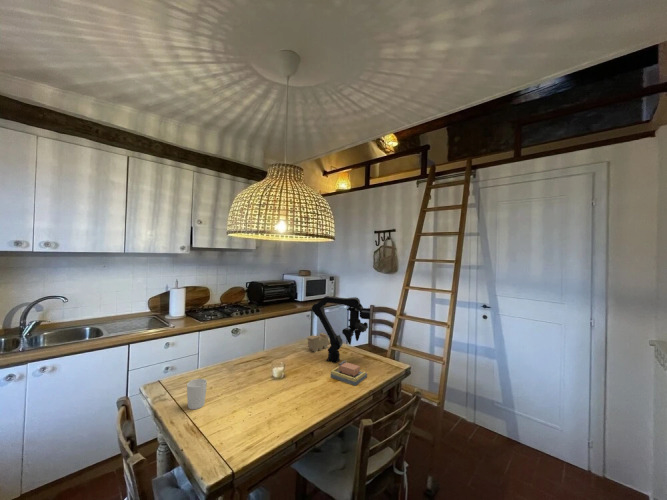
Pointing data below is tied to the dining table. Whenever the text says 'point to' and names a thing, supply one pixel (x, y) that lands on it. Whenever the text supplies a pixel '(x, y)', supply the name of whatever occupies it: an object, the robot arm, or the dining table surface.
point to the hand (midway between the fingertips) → (353, 342)
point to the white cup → (196, 393)
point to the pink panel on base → (349, 368)
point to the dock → (348, 377)
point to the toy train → (318, 342)
